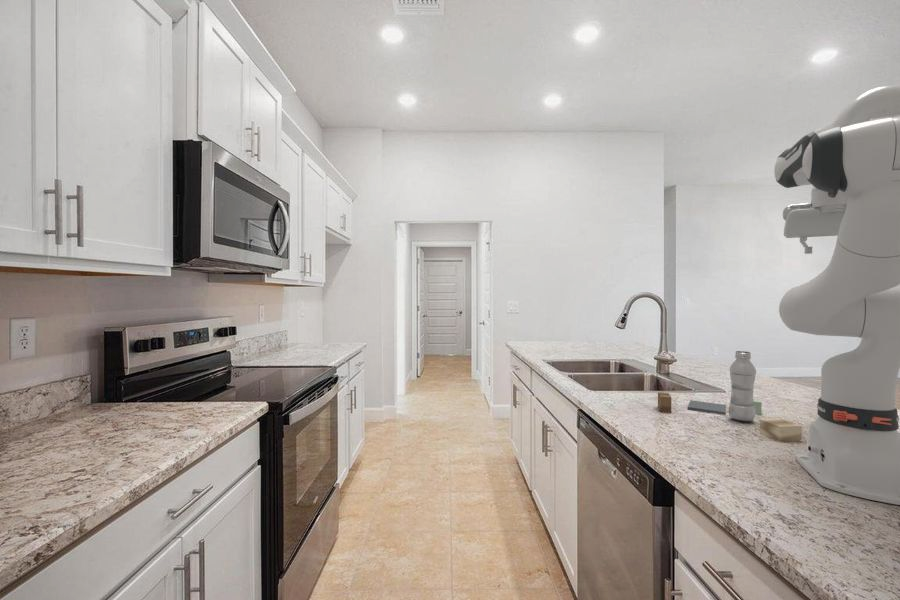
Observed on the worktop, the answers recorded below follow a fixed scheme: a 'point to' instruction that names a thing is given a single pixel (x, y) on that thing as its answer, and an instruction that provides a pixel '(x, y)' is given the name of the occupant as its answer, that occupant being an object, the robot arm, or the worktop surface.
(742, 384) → the plastic bottle
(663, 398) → the walnut brick
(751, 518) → the worktop surface
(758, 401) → the sage brick
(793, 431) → the beech brick
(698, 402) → the mat
